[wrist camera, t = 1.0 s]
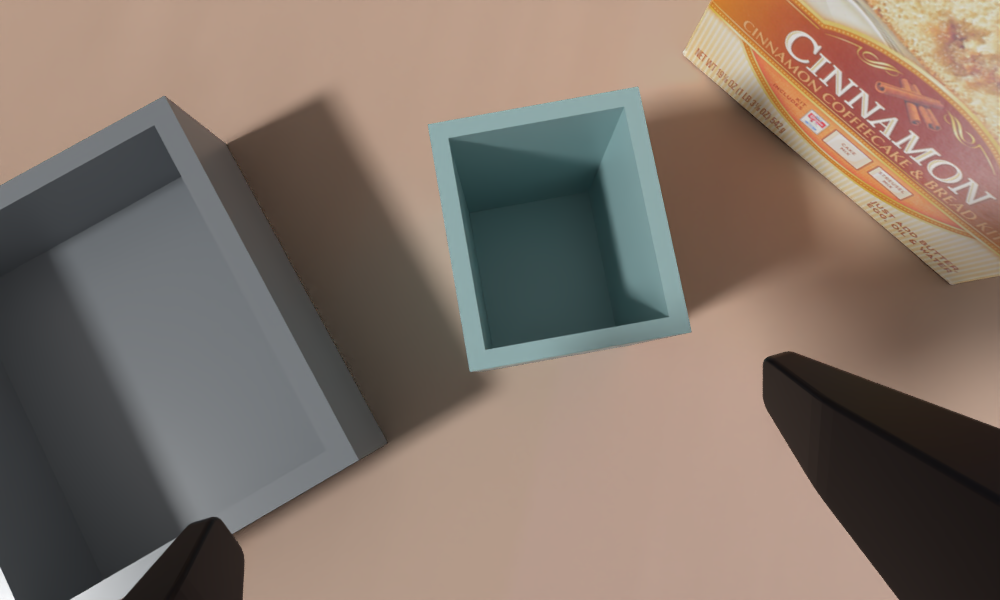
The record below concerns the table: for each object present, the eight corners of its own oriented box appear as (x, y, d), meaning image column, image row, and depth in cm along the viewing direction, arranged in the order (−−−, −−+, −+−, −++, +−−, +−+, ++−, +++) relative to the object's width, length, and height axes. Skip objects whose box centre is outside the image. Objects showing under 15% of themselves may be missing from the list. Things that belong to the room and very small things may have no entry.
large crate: (387, 443, 24) (358, 459, 19) (109, 605, 23) (14, 661, 19) (225, 143, 25) (164, 95, 21) (-38, 289, 25) (-158, 271, 20)
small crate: (629, 345, 24) (691, 332, 16) (485, 371, 24) (469, 371, 16) (596, 182, 25) (638, 86, 17) (456, 207, 25) (427, 124, 17)
